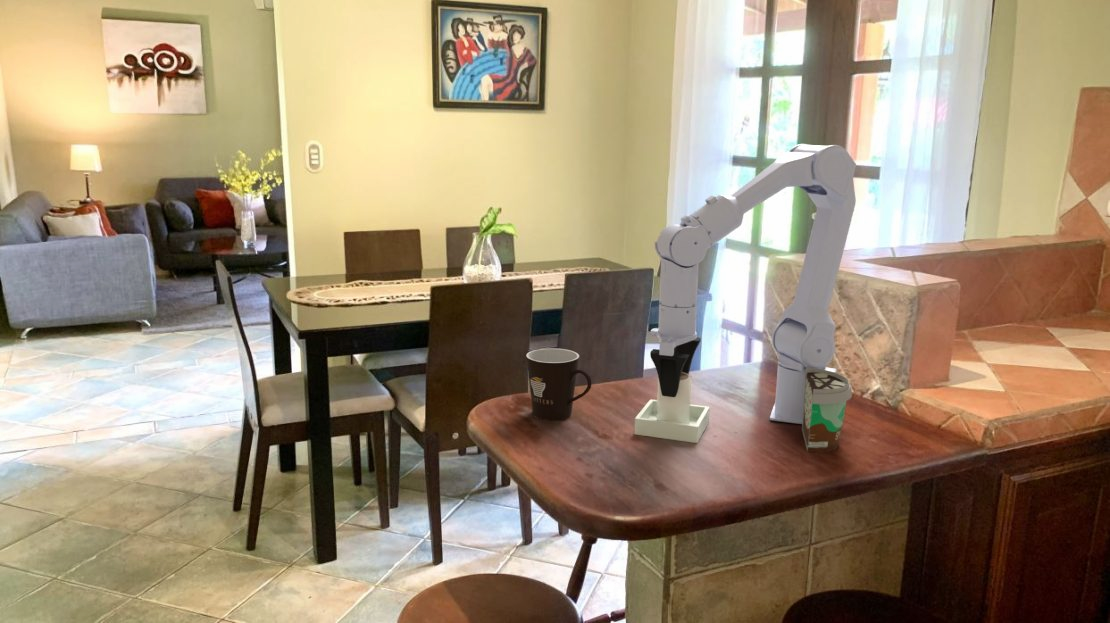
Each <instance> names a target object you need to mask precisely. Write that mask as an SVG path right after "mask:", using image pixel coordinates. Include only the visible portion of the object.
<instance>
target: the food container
mask: <svg viewBox="0 0 1110 623" xmlns="http://www.w3.org/2000/svg"><path fill="white" fill-rule="evenodd" d="M852 397H853V394H852V387H851V384H850V382H849V379H848V378H847V377H846V376H844V375H842V374H840V373H837V372H836V373H835V372H831V371H828V370H823V369H817V368H807V367H806V374H805V393H804V407H803V422H802V424H801V431H802V436H803V439H804V443H805V448H806V451H807V453H826V452H831V451H834V450H836V449H837V448H838V447H839V444H840V440H841V435H842V434H841V433H842V428H843V421H844V418H845V410H846V405H847V401H849V400H851V398H852Z"/></svg>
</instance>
